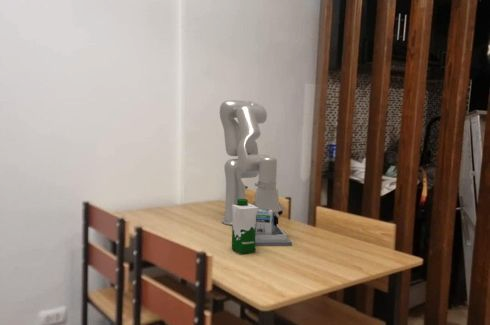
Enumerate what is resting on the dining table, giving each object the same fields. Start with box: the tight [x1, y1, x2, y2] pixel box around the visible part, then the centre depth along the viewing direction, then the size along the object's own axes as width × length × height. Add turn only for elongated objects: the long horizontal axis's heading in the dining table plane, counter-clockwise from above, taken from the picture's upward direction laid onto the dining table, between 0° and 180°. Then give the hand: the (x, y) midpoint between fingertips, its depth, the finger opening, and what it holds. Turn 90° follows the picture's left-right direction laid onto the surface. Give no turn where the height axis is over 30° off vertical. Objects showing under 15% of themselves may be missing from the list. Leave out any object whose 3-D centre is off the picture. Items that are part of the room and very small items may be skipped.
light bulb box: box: [256, 210, 275, 235], centre depth 186 cm, size 11×7×11 cm, turn 169°
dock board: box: [255, 232, 293, 247], centre depth 187 cm, size 19×19×2 cm
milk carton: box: [231, 198, 258, 255], centre depth 170 cm, size 9×9×20 cm
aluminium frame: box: [255, 225, 288, 241], centre depth 187 cm, size 15×15×2 cm
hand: (265, 225), depth 187 cm, fingers closed on light bulb box, 8 cm apart
